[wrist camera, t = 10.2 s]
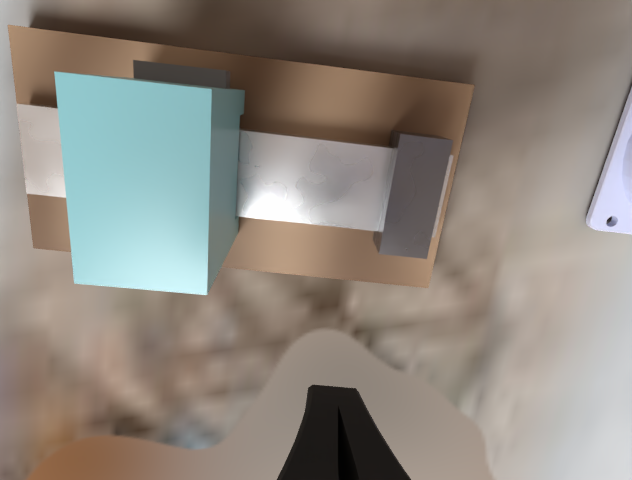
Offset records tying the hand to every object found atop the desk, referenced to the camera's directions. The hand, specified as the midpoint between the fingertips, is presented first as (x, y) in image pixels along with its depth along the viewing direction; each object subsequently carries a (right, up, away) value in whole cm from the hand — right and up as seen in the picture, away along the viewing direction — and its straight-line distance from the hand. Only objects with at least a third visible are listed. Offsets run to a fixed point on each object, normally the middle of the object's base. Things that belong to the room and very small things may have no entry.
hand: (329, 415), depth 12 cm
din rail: (-4, +8, +6) cm, 10 cm away
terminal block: (-5, +8, +6) cm, 11 cm away
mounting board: (-4, +8, +7) cm, 11 cm away
